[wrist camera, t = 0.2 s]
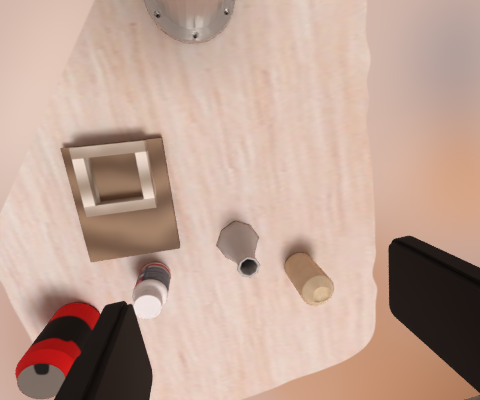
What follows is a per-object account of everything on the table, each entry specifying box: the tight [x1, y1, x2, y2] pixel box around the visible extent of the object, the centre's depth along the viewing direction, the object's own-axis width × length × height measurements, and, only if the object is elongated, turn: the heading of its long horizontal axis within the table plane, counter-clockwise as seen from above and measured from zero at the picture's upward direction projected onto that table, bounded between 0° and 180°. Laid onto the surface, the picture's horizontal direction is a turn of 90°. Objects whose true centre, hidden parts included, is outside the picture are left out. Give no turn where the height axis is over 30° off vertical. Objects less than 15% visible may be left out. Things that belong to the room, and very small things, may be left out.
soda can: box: [16, 303, 100, 399], centre depth 41 cm, size 8×8×12 cm
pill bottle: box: [133, 262, 171, 319], centre depth 43 cm, size 5×5×9 cm
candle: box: [285, 253, 334, 306], centre depth 47 cm, size 6×6×10 cm
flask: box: [217, 221, 260, 278], centre depth 44 cm, size 7×7×10 cm
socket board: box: [61, 138, 180, 262], centre depth 41 cm, size 18×14×4 cm
